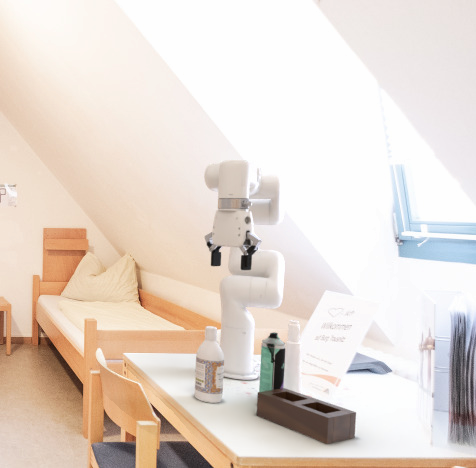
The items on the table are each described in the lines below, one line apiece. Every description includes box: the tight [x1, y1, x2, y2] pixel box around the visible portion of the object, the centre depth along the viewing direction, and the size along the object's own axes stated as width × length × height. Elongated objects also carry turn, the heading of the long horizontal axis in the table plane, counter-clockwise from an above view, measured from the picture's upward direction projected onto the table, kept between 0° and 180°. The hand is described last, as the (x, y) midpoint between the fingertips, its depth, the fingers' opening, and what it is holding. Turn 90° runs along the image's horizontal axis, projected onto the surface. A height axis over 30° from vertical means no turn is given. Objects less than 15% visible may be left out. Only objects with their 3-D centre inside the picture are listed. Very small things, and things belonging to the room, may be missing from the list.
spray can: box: [258, 332, 286, 392], centre depth 141 cm, size 6×6×20 cm
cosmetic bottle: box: [283, 319, 303, 394], centre depth 147 cm, size 6×6×22 cm
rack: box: [256, 388, 357, 445], centre depth 129 cm, size 10×18×6 cm, turn 23°
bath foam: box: [194, 325, 224, 404], centre depth 146 cm, size 7×7×20 cm
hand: (230, 268), depth 146 cm, fingers open, 9 cm apart
